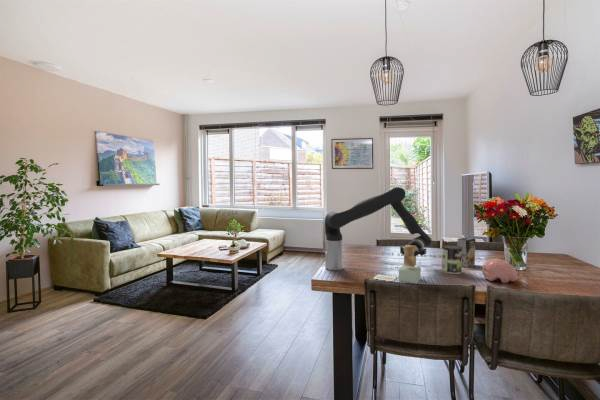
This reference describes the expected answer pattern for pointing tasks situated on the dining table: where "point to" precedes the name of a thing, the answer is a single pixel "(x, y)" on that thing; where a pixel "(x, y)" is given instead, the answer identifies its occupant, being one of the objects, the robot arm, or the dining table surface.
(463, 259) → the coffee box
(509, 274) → the pink piggy bank
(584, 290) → the dining table surface
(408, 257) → the tan cylinder
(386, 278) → the page
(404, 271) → the base brick
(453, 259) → the coffee can
